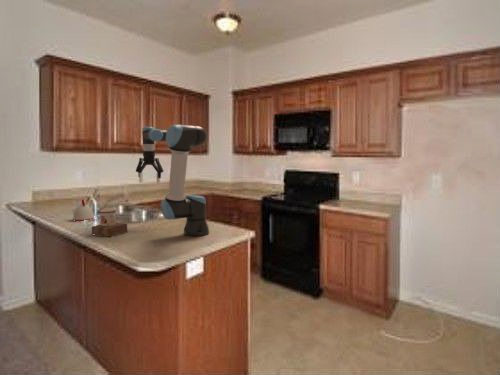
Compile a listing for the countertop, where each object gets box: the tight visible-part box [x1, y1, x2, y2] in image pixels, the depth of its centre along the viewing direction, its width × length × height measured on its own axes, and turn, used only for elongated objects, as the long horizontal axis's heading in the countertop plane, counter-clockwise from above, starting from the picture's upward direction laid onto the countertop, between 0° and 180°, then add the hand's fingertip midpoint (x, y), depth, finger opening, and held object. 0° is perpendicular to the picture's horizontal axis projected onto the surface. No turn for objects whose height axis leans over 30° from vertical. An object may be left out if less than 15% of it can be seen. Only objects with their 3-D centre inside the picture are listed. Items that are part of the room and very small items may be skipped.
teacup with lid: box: [99, 205, 117, 226], centre depth 199 cm, size 12×9×12 cm
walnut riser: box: [91, 222, 128, 238], centre depth 200 cm, size 14×14×5 cm
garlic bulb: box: [72, 199, 95, 221], centre depth 239 cm, size 14×14×15 cm
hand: (149, 182), depth 221 cm, fingers open, 13 cm apart
